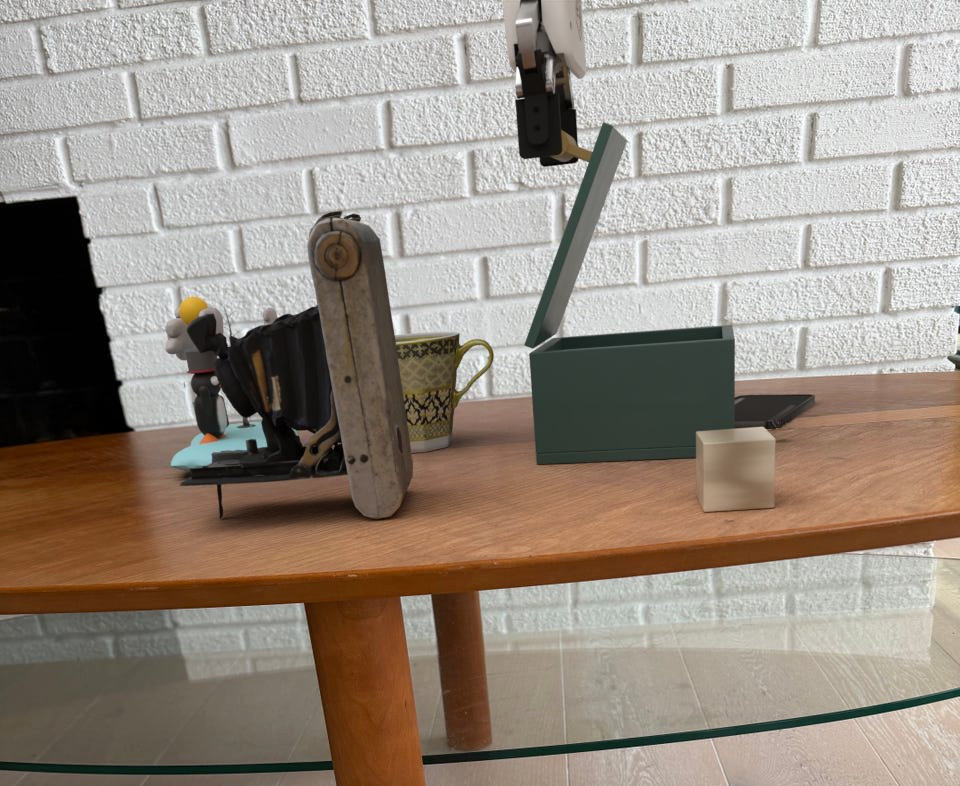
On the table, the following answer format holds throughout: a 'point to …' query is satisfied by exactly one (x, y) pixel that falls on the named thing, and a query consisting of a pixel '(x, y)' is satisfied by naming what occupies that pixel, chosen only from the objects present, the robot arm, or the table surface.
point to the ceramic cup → (432, 384)
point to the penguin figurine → (208, 390)
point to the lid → (577, 228)
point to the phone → (770, 409)
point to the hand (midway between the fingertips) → (550, 160)
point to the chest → (631, 394)
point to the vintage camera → (320, 380)
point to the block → (735, 469)
